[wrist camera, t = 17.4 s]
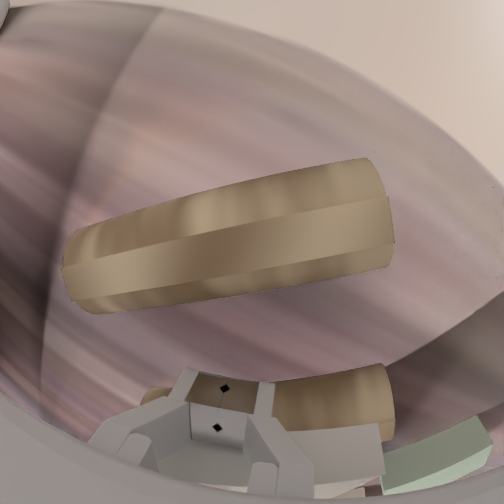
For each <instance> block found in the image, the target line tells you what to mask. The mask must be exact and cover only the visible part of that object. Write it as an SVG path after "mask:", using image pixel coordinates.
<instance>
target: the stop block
mask: <svg viewBox="0 0 504 504" xmlns="http://www.w3.org/2000/svg"><path fill="white" fill-rule="evenodd" d="M360 497H365V489H364V487H361V488H356V489H352V490H350V491H347V492H345V493H343V494H340V495H338V496H335V497H333V498H330V499H339V498H360Z"/></svg>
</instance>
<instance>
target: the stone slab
mask: <svg viewBox="0 0 504 504" xmlns="http://www.w3.org/2000/svg"><path fill="white" fill-rule="evenodd" d="M287 432H288V434H289V435H290V436H291V438H292V439H293V440H294V441H295V443H296V444H297V445H298V447H299V448H300V449H301V450H302V452H303V453H304V454H305V455H306V456H307V458H308V459H309V460H310V461H311V463H312V464H313V465H314V499H330V498H333V497H335V496H338V495H340V494H343V493H345V492H347V491H350V490H352V489H354V488H357V487H359V486H361V485H363V484H366V483H368V482H370V481H372V480H374V479H376V478H378V477H380V476H382V475H384V474H386V472H385V464H384V457H383V450H382V444H381V438H380V432H379V426H378V422H377V423H371V424H364V425H357V426H350V427H341V428H332V429H321V430H307V431H287ZM157 465H158V469H159V473H161V474H164V475H168V476H171V477H174V478H178V479H181V480H185V481H189V482H193V483H197V484H201V485H206V486H210V487H215V488H220V489H225V490H231V491H236V492H243V493H246V492H247V488H248V483H249V478H250V474H251V469H252V468H251V466H250V464H249V462H248V460H247V458H246V456H245V454H244V452H243V450H241V449H235V448H230V447H226V446H221V445H216V444H211V443H206V442H201V441H196V440H191V441H190V442H189V443H187V444H186V445H184V446H183V447H182V448H180V449H179V450H177V451H176V452H174V453H173V454H171V455H170V456H168V457H167V458H165V459H164V460H162V461H161V462H159V463H157Z"/></svg>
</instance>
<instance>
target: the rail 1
mask: <svg viewBox="0 0 504 504" xmlns="http://www.w3.org/2000/svg"><path fill="white" fill-rule="evenodd" d="M393 243H395V238H394V230H393V223H392V216H391V209H390V202H389V197H388V196H386V192H385V189H384V186H383V183H382V181H381V178H380V176H379V174H378V172H377V170H376V168H375V167H374V165H373V164H372V162H371V161H370V160H369V159H367V158H359V159H353V160H347V161H341V162H335V163H330V164H324V165H319V166H313V167H308V168H303V169H298V170H293V171H288V172H284V173H279V174H274V175H270V176H265V177H261V178H256V179H252V180H247V181H243V182H239V183H235V184H231V185H227V186H223V187H219V188H215V189H211V190H207V191H203V192H199V193H196V194H192V195H188V196H184V197H181V198H177V199H174V200H170V201H167V202H163V203H160V204H156V205H153V206H150V207H146V208H143V209H140V210H136V211H133V212H130V213H127V214H124V215H121V216H117V217H114V218H111V219H108V220H105V221H102V222H99V223H96V224H93V225H90V226H88V227H85V228H82V229H79V230H77V231H76V232H75V233H74V234H73V235H72V236H71V237H70V238H69V240H68V242H67V245H66V247H65V251H64V257H63V268H61V272H62V275H63V278H64V281H65V284H66V287H67V290H68V293H69V296H70V299H71V301H75V302H76V303H77V304H78V305H79V306H80V307H81V308H82V309H83V310H85V311H86V312H89V313H91V314H106V313H115V312H124V311H132V310H140V309H148V308H156V307H163V306H170V305H178V304H185V303H192V302H198V301H205V300H212V299H218V298H225V297H231V296H237V295H243V294H249V293H255V292H261V291H267V290H273V289H279V288H284V287H290V286H295V285H301V284H306V283H311V282H317V281H322V280H327V279H332V278H337V277H342V276H347V275H352V274H357V273H362V272H367V271H371V270H376V269H381V268H385V267H387V266H388V265H389V264H390V262H391V258H392V252H393Z"/></svg>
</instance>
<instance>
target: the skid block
mask: <svg viewBox="0 0 504 504" xmlns="http://www.w3.org/2000/svg"><path fill="white" fill-rule="evenodd" d="M492 446H493V442H492V440H491V439H490V437H489V435H488V433H487V432H486V430H485V428H484V426H483V425H482V423H481V421H480V420H479V418H478V416H477V415H475V416H473V417H471V418H469V419H467V420H465V421H463V422H461V423H459V424H457V425H455V426H453V427H450V428H448V429H446V430H444V431H442V432H439V433H437V434H435V435H432V436H430V437H427V438H425V439H422V440H420V441H417V442H415V443H412V444H409V445H407V446H404V447H401V448H398V449H395V450H392V451H389V452H386V453H383V457H384V464H385V472H386V474H384V475H382V476H380V482H381V487H382V493H383V495H390V494H398V493H404V492H410V491H416V490H421V489H426V488H431V487H435V486H440V485H444V484H447V483H449V482H452V481H454V480H456V479H458V478H460V477H462V476H464V475H466V474H468V473H470V472H472V471H474V470H476V469H478V468H480V467H481V466H483V465H485V463H486V461H487V458H488V456H489V454H490V451H491V449H492Z"/></svg>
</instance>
